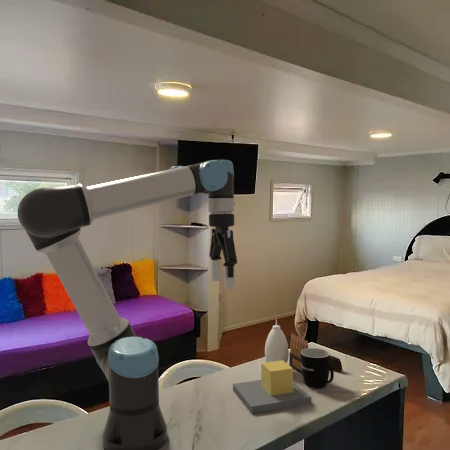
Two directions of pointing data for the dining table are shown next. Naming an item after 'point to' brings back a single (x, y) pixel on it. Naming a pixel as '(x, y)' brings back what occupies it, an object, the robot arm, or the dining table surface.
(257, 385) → the board
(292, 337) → the ammunition clip
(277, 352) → the air blower bulb
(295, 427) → the dining table surface
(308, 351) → the mug
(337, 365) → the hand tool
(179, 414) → the dining table surface
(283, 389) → the mustard yellow cube
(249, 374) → the dining table surface
